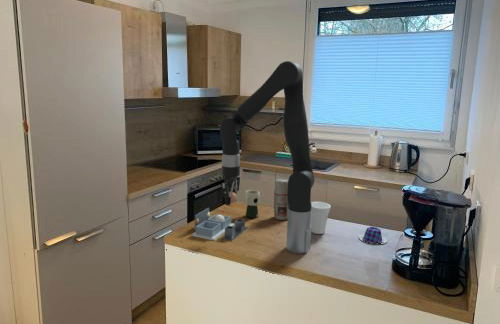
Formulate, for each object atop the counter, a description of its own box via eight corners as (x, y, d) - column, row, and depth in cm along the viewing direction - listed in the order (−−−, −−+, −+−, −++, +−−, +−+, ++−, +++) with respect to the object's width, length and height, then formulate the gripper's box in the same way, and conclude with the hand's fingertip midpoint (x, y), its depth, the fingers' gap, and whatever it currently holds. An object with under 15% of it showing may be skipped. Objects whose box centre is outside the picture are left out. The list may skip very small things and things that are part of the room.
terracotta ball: (238, 202, 170) (238, 191, 169) (233, 205, 165) (233, 193, 164) (228, 200, 172) (228, 189, 171) (222, 203, 167) (222, 192, 166)
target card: (209, 223, 187) (209, 207, 186) (195, 232, 176) (195, 215, 174) (208, 223, 187) (208, 207, 186) (194, 232, 176) (194, 215, 174)
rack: (234, 225, 186) (234, 216, 185) (214, 240, 168) (214, 231, 167) (214, 221, 190) (214, 213, 190) (192, 235, 172) (192, 226, 172)
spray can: (270, 218, 196) (271, 179, 192) (277, 214, 203) (278, 176, 199) (286, 222, 192) (288, 182, 188) (292, 217, 199) (294, 178, 195)
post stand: (247, 228, 183) (247, 219, 182) (232, 241, 168) (232, 230, 167) (237, 226, 184) (237, 217, 184) (221, 238, 170) (221, 228, 169)
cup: (322, 238, 174) (324, 210, 171) (302, 232, 180) (304, 205, 177) (332, 231, 182) (334, 204, 179) (313, 226, 188) (314, 200, 185)
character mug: (252, 221, 192) (253, 195, 190) (240, 218, 196) (240, 193, 193) (263, 214, 202) (264, 190, 199) (251, 212, 205) (252, 188, 202)
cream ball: (226, 224, 185) (226, 214, 184) (221, 227, 180) (221, 217, 179) (217, 222, 187) (217, 212, 186) (211, 226, 182) (212, 215, 181)
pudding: (392, 241, 173) (393, 229, 172) (377, 248, 166) (378, 236, 165) (368, 232, 182) (369, 222, 181) (353, 238, 175) (354, 227, 174)
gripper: (231, 168, 157) (231, 209, 161) (246, 162, 170) (245, 200, 174) (214, 166, 160) (215, 206, 164) (230, 160, 173) (230, 197, 176)
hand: (230, 203), depth 169 cm, fingers closed on terracotta ball, 5 cm apart
